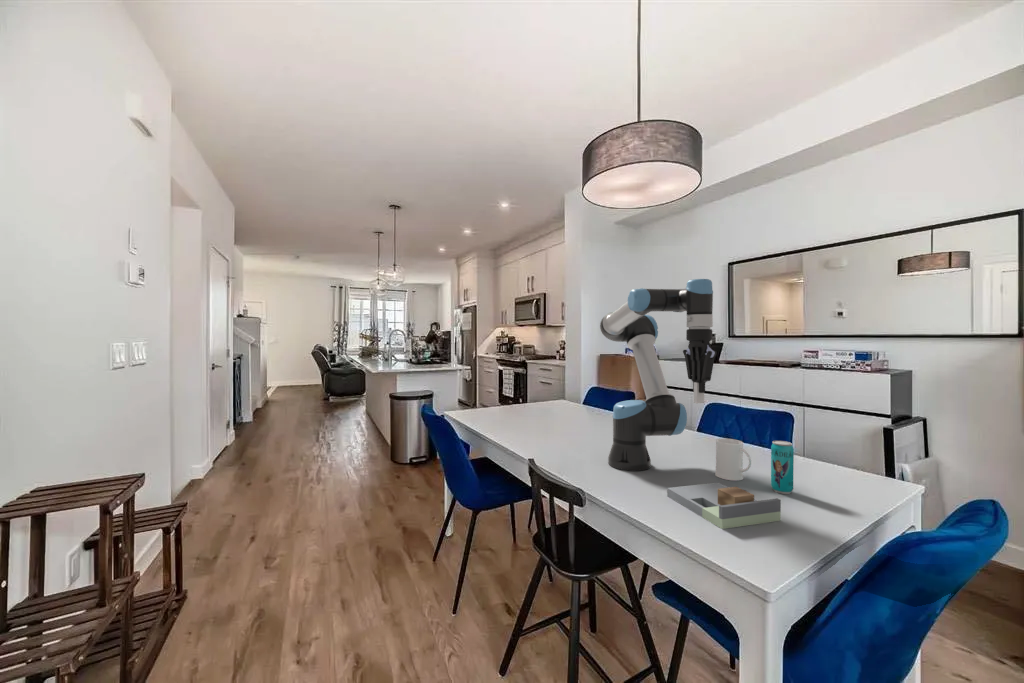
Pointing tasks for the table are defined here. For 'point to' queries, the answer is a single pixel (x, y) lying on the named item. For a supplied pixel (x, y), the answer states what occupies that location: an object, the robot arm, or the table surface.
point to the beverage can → (782, 467)
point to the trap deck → (725, 506)
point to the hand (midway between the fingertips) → (698, 402)
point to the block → (733, 496)
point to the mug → (730, 459)
